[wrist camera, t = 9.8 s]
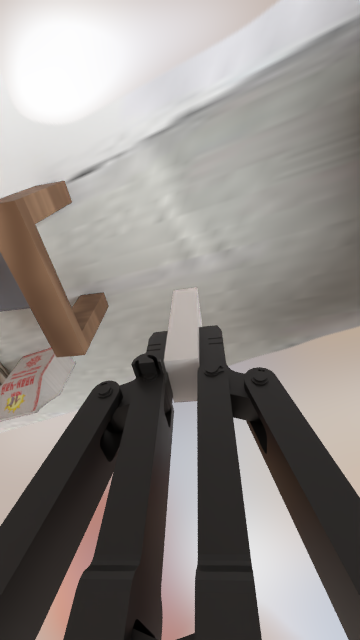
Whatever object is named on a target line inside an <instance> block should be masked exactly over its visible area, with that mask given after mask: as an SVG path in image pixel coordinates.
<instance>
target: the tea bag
mask: <svg viewBox="0 0 360 640" xmlns="http://www.w3.org/2000/svg"><path fill="white" fill-rule="evenodd" d="M75 364H76V363H75V362H74V360H73V359H72V358H71V356H68V357H56V355H55V353H54V352H53V350H52V348H49V349H46V350H43V351H40V352H37V353H34V354H30V355H27V356H24V357H22V359H21V360H20V361H19V363H18V364H17V365H16V367H15V368H14V369H13V371H12V372H11V373H10V375H9V376H8V377H7V379H6V380H5V381H4V383H3V384H2V385H1V387H0V422H1V421H5V420H9V419H13V418H17V417H21V416H25V415H29V414H33V413H37V412H38V411H39V410H40V408H42V407H43V406H44V405H45V404H47V403H48V402H49V401H51V400H52V399H54V398H55V397H57V396H58V395H60V393H61V391H62V389H63V387H64V386H65V384H66V382H67V380H68V378H69V376H70V374H71V372H72V370H73V368H74V366H75Z"/></svg>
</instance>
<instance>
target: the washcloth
mask: <svg viewBox="0 0 360 640" xmlns="http://www.w3.org/2000/svg"><path fill="white" fill-rule="evenodd" d="M9 375H10V372H9V371H8V370H7V369H5V367H3V365H2V364H1V363H0V387H1V385H2V384H3V383H4V381H5V380H6V379H7V377H8V376H9Z"/></svg>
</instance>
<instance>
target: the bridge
mask: <svg viewBox="0 0 360 640" xmlns="http://www.w3.org/2000/svg"><path fill="white" fill-rule="evenodd" d="M70 203H72V201H71V198H70V195H69V192H68V190H67V187H66V184H65V181H60V182H55V183H49V184H44V185H38V186H34V187H32V188H29V189H26V190H23V191H21V192H18V193H15V194H12V195H9V196H7V197H4V198H1V199H0V252H1V254H2V256H3V258H4V260H5V261H6V263H7V265H8V267H9V269H10V271H11V273H12V275H13V276H14V278H15V280H16V282H17V284H18V286H19V288H20V290H21V291H22V293H23V295H24V297H25V299H26V301H27V303H28V305H29V307H30V308H31V310H32V312H33V314H34V316H35V318H36V320H37V322H38V323H39V325H40V327H41V329H42V331H43V333H44V335H45V337H46V338H47V340H48V342H49V344H50V346H51V348H52V350H53V352H54V353H55V355H56V357H68V356H78V355H85V354H86V352H87V350H88V348H89V345H90V343H91V341H92V339H93V337H94V335H95V333H96V331H97V329H98V327H99V325H100V323H101V321H102V319H103V317H104V315H105V313H106V311H107V309H108V307H109V306H108V303H107V300H106V298H105V295H104V293H96V294H88V295H81V296H80V297H79V298H78V300H77V301H76V303H75V304H74V306H73V307H72V308H71V305H70V303H69V301H68V299H67V296H66V294H65V292H64V290H63V287H62V285H61V283H60V280H59V278H58V276H57V274H56V271H55V269H54V267H53V264H52V262H51V260H50V258H49V255H48V253H47V251H46V248H45V246H44V244H43V242H42V239H41V237H40V235H39V232H38V230H37V228H36V226H35V224H36V223H38V222H40V221H41V220H43V219H45V218H46V217H48V216H50V215H51V214H53V213H55V212H56V211H58V210H60V209H61V208H63V207H65V206H66V205H68V204H70Z"/></svg>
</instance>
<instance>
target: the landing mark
mask: <svg viewBox="0 0 360 640" xmlns="http://www.w3.org/2000/svg"><path fill="white" fill-rule="evenodd" d="M25 308H30V307H29V305H28V303H27V301H26V299H25V297H24V295H23V293H22V291H21V290H20V288H19V286H18V284H17V282H16V280H15V278H14V276H13V275H12V273H11V271H10V269H9V267H8V265H7V263H6V261H5V260H4V258H3V256H2V254H1V252H0V311H9V310H17V309H25Z"/></svg>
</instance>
